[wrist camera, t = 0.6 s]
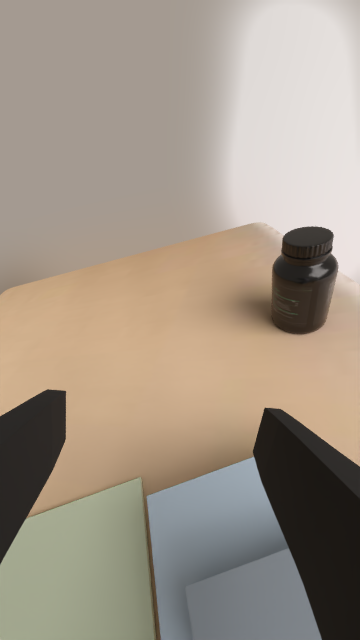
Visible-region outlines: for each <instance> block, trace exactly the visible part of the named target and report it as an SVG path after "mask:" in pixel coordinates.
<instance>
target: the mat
mask: <svg viewBox="0 0 360 640" xmlns="http://www.w3.org/2000/svg"><path fill="white" fill-rule="evenodd" d="M0 640H156V631H155V619H154V608H153V597H152V586H151V575H150V564H149V553H148V542H147V531H146V519H145V508H144V497H143V486H142V478H141V477H139V478H136V479H134V480H131V481H128V482H125V483H123V484H120V485H117V486H114V487H112V488H109V489H106V490H104V491H101V492H98V493H95V494H93V495H90V496H87V497H84V498H82V499H79V500H76V501H73V502H71V503H68V504H65V505H62V506H60V507H57V508H54V509H51V510H49V511H46V512H43V513H40V514H38V515H35V516H32V517H30V518H27V519H25V521H24V523H23V525H22V526H21V528H20V530H19V532H18V533H17V535H16V537H15V539H14V541H13V542H12V544H11V546H10V548H9V550H8V551H7V553H6V555H5V557H4V559H3V561H2V562H1V564H0Z"/></svg>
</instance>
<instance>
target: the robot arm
mask: <svg viewBox="0 0 360 640" xmlns="http://www.w3.org/2000/svg"><path fill="white" fill-rule="evenodd" d="M65 440H66V391H60V390H48V389H47V390H46V391H44V392H42V393H40V394H38V395H36V396H35V397H33V398H31V399H29V400H28V401H26V402H24V403H23V404H21V405H19V406H17V407H16V408H14V409H12V410H11V411H9V412H7V413H5V414H4V415H2V416H0V564H1V562H2V561H3V559H4V557H5V555H6V553H7V551H8V550H9V548H10V546H11V544H12V542H13V541H14V539H15V537H16V535H17V533H18V532H19V530H20V528H21V526H22V525H23V523H24V521H25V519H26V517H27V516H28V514H29V512H30V510H31V509H32V507H33V505H34V503H35V501H36V500H37V498H38V496H39V494H40V492H41V491H42V489H43V487H44V485H45V483H46V482H47V480H48V478H49V476H50V474H51V472H52V470H53V468H54V466H55V464H56V461H57V459H58V457H59V454H60V452H61V449H62V447H63V445H64V442H65ZM253 455H254V458H255V462H256V466H257V469H258V472H259V476H260V479H261V482H262V485H263V487H264V490H265V492H266V495H267V497H268V499H269V502H270V504H271V507H272V509H273V512H274V514H275V516H276V519H277V521H278V524H279V526H280V528H281V531H282V533H283V535H284V538H285V540H286V543H287V545H288V547H289V550H290V552H291V555H292V557H293V559H294V562H295V564H296V567H297V569H298V572H299V575H300V577H301V580H302V582H303V585H304V588H305V591H306V594H307V597H308V600H309V603H310V606H311V609H312V612H313V615H314V618H315V621H316V624H317V627H318V630H319V633H320V635H321V639H322V640H360V467H359V466H358V465H357V464H355V463H354V462H352V461H351V460H350V459H348V458H347V457H345V456H344V455H343V454H341V453H340V452H339V451H337V450H336V449H335V448H333V447H332V446H331V445H329V444H328V443H327V442H325V441H324V440H323V439H321V438H320V437H319V436H317V435H316V434H315V433H313V432H312V431H311V430H309V429H308V428H307V427H305V426H304V425H303V424H301V423H300V422H298V421H297V420H296V419H294V418H293V417H292V416H290V415H289V414H287V413H286V412H284V411H283V410H281V409H274V408H265V409H264V413H263V416H262V420H261V424H260V427H259V431H258V435H257V438H256V442H255V446H254V449H253Z"/></svg>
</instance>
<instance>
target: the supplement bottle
mask: <svg viewBox="0 0 360 640" xmlns="http://www.w3.org/2000/svg"><path fill="white" fill-rule="evenodd" d="M333 236H334V235H333V232H331V231H330V230H329V229H326V228H322V227H302V228H297V229H294V230H291V231H290V232H288V233H286V234H285V235H284V237H283V241H282V250H281V254H282V255H280V256H279V257H278V258H277V259H276V261H275V262H274V264H273V268H272V319H273V321H274V323H275V324H276V325H277V326H278V327H279V328H281V329H283V330H285V331H287V332H290V333H296V334H305V333H310V332H314V331H316V330H318V329H319V328H321V327H322V326H323V325H324V323H325V321H326V319H327V315H328V311H329V307H330V302H331V298H332V294H333V289H334V285H335V281H336V276H337V272H338V262H337V260H336V258H335V257H334V256H333V255H332V254H331V252H332V242H333Z"/></svg>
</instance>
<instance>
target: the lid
mask: <svg viewBox="0 0 360 640" xmlns="http://www.w3.org/2000/svg"><path fill="white" fill-rule="evenodd" d="M147 504H148V514H149V524H150V535H151V545H152V555H153V565H154V575H155V585H156V595H157V605H158V615H159V625H160V635H161V640H322V639H321V635H320V633H319V630H318V627H317V624H316V621H315V618H314V615H313V612H312V609H311V606H310V603H309V600H308V597H307V594H306V591H305V588H304V585H303V582H302V580H301V577H300V575H299V572H298V569H297V567H296V564H295V562H294V559H293V557H292V555H291V552H290V550H289V547H288V545H287V543H286V540H285V538H284V535H283V533H282V531H281V528H280V526H279V524H278V521H277V519H276V516H275V514H274V512H273V509H272V507H271V504H270V502H269V499H268V497H267V495H266V492H265V490H264V487H263V485H262V482H261V479H260V476H259V472H258V469H257V466H256V462H255V458H254V457H252V458H249V459H246V460H244V461H241V462H238V463H235V464H233V465H230V466H227V467H225V468H222V469H219V470H216V471H214V472H211V473H208V474H205V475H203V476H200V477H197V478H195V479H192V480H189V481H186V482H184V483H181V484H178V485H175V486H173V487H170V488H167V489H164V490H162V491H159V492H156V493H154V494H151V495H148V496H147Z"/></svg>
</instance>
